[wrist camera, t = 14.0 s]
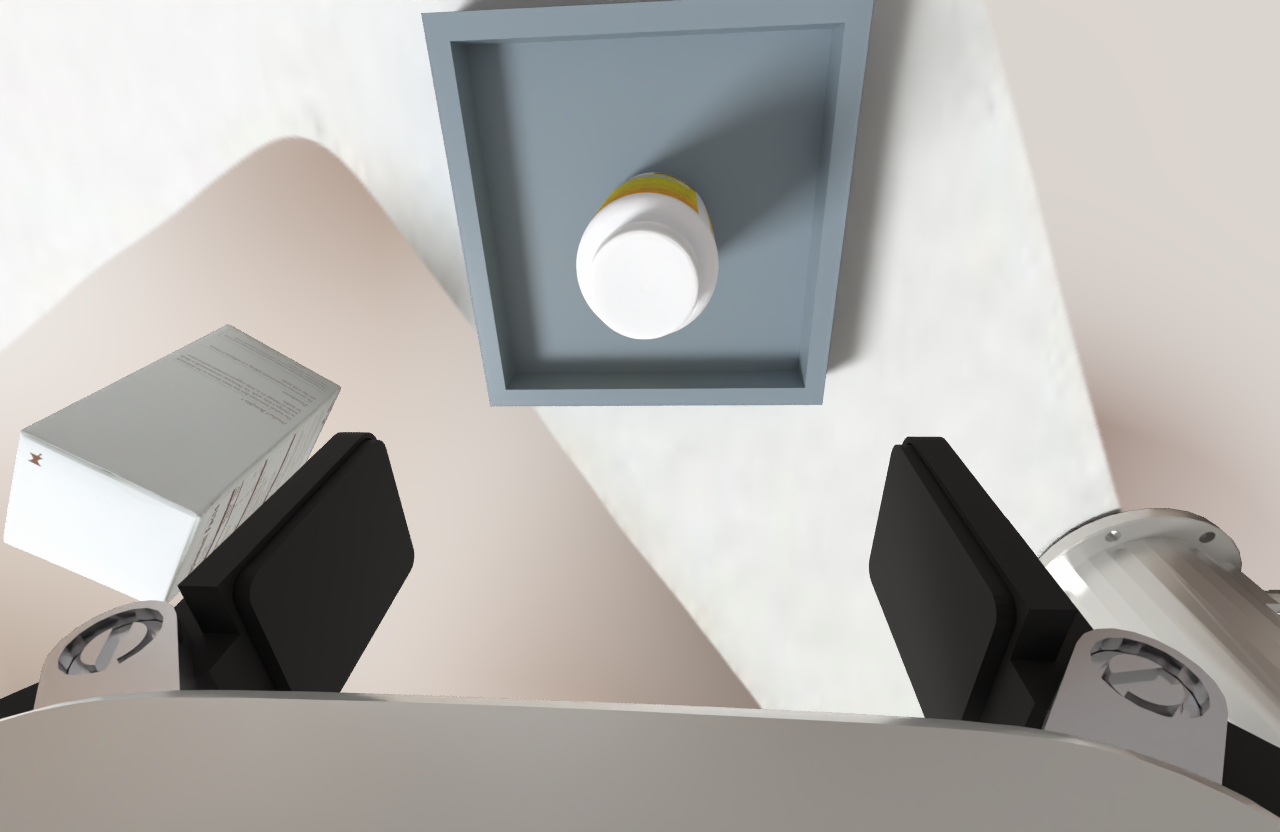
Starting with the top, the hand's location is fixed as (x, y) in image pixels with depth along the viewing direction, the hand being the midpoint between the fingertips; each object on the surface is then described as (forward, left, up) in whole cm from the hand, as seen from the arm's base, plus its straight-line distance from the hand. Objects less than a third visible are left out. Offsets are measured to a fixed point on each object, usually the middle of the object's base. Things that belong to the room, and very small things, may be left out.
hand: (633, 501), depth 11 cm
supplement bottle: (0, -1, -22) cm, 22 cm away
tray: (+1, -1, -22) cm, 22 cm away
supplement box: (+25, +9, -23) cm, 34 cm away
